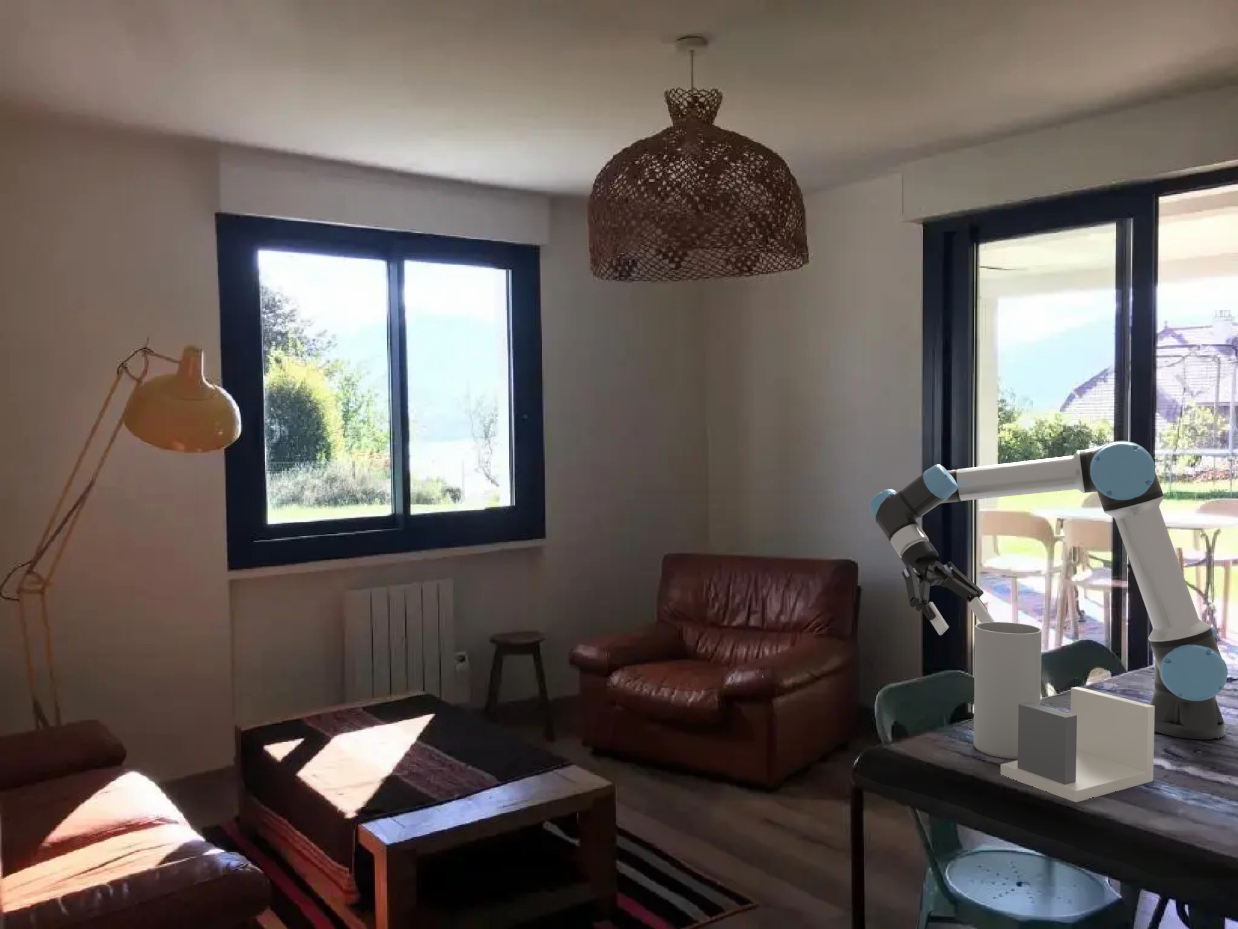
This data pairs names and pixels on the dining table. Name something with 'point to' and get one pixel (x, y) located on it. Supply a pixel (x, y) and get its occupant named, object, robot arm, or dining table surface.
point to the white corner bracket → (1084, 746)
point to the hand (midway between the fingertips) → (967, 628)
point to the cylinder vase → (1004, 683)
